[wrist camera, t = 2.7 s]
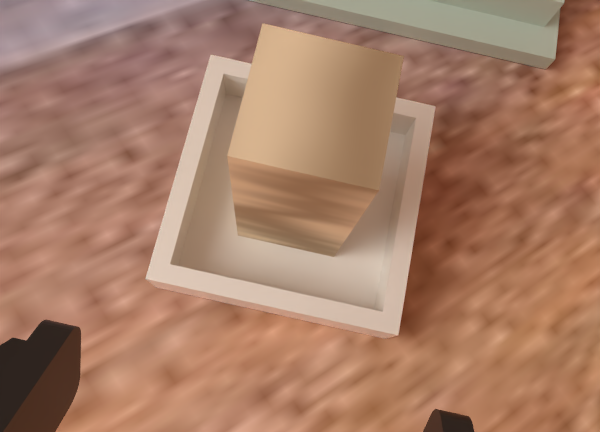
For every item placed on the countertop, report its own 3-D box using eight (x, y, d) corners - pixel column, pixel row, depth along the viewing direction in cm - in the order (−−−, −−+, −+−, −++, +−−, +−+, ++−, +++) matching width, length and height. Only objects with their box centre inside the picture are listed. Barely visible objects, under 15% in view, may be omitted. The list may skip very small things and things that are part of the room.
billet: (238, 235, 26) (227, 155, 16) (260, 143, 27) (263, 19, 18) (333, 257, 26) (379, 190, 16) (352, 164, 27) (404, 51, 18)
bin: (155, 287, 26) (145, 278, 23) (214, 81, 29) (210, 54, 26) (385, 338, 26) (398, 335, 23) (420, 128, 29) (435, 106, 26)
